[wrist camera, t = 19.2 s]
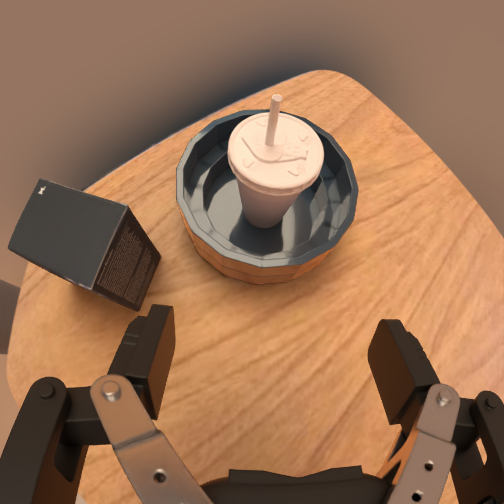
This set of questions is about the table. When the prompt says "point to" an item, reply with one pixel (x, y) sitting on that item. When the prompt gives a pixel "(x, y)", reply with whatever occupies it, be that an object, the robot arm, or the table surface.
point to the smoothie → (273, 163)
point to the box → (86, 242)
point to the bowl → (244, 233)
